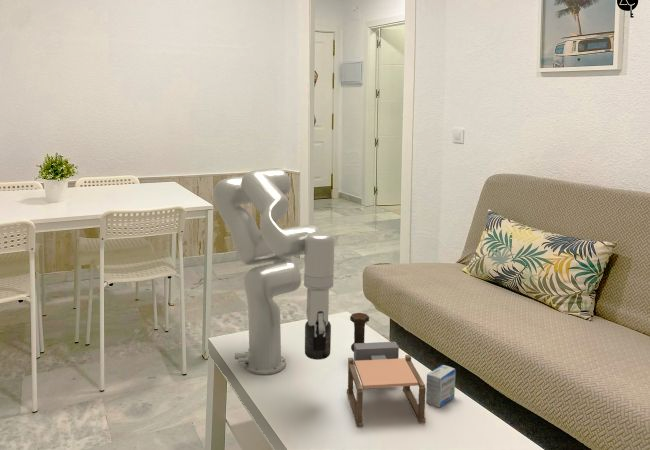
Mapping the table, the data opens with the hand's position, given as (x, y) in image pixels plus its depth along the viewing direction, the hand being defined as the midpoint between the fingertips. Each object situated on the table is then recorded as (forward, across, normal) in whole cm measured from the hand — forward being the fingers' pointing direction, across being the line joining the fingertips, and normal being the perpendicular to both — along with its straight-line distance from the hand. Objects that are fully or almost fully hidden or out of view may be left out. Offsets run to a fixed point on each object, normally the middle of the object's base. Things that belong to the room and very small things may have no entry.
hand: (317, 343), depth 158 cm
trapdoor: (+9, +1, +17) cm, 20 cm away
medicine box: (+17, +3, +34) cm, 38 cm away
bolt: (+18, -23, +16) cm, 33 cm away
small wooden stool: (+17, +5, +18) cm, 25 cm away
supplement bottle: (+3, 0, 0) cm, 3 cm away
